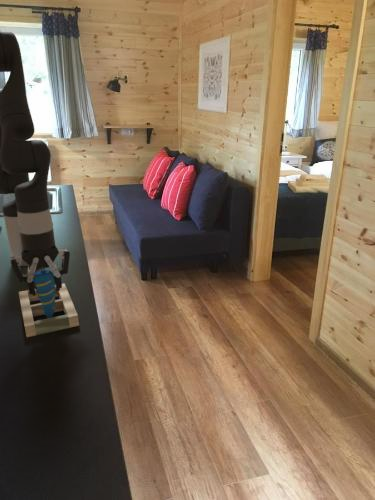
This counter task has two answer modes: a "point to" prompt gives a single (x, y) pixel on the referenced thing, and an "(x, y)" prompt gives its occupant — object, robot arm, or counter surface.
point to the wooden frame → (36, 310)
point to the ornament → (45, 290)
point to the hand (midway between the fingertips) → (45, 291)
